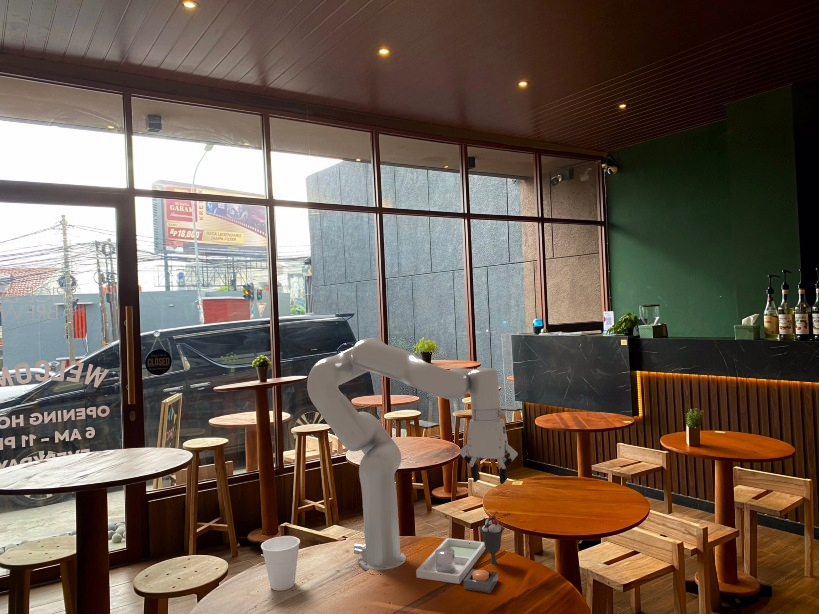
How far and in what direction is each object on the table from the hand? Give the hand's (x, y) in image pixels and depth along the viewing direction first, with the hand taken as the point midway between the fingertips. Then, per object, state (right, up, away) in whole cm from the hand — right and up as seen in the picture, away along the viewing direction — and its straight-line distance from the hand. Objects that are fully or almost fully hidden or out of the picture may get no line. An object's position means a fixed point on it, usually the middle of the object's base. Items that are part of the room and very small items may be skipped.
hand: (489, 481), depth 158 cm
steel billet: (-12, -22, -4) cm, 26 cm away
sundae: (+1, -23, 0) cm, 23 cm away
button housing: (-4, -23, -12) cm, 26 cm away
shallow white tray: (-10, -23, +1) cm, 25 cm away
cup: (-54, -26, -5) cm, 60 cm away
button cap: (-4, -21, -12) cm, 25 cm away
